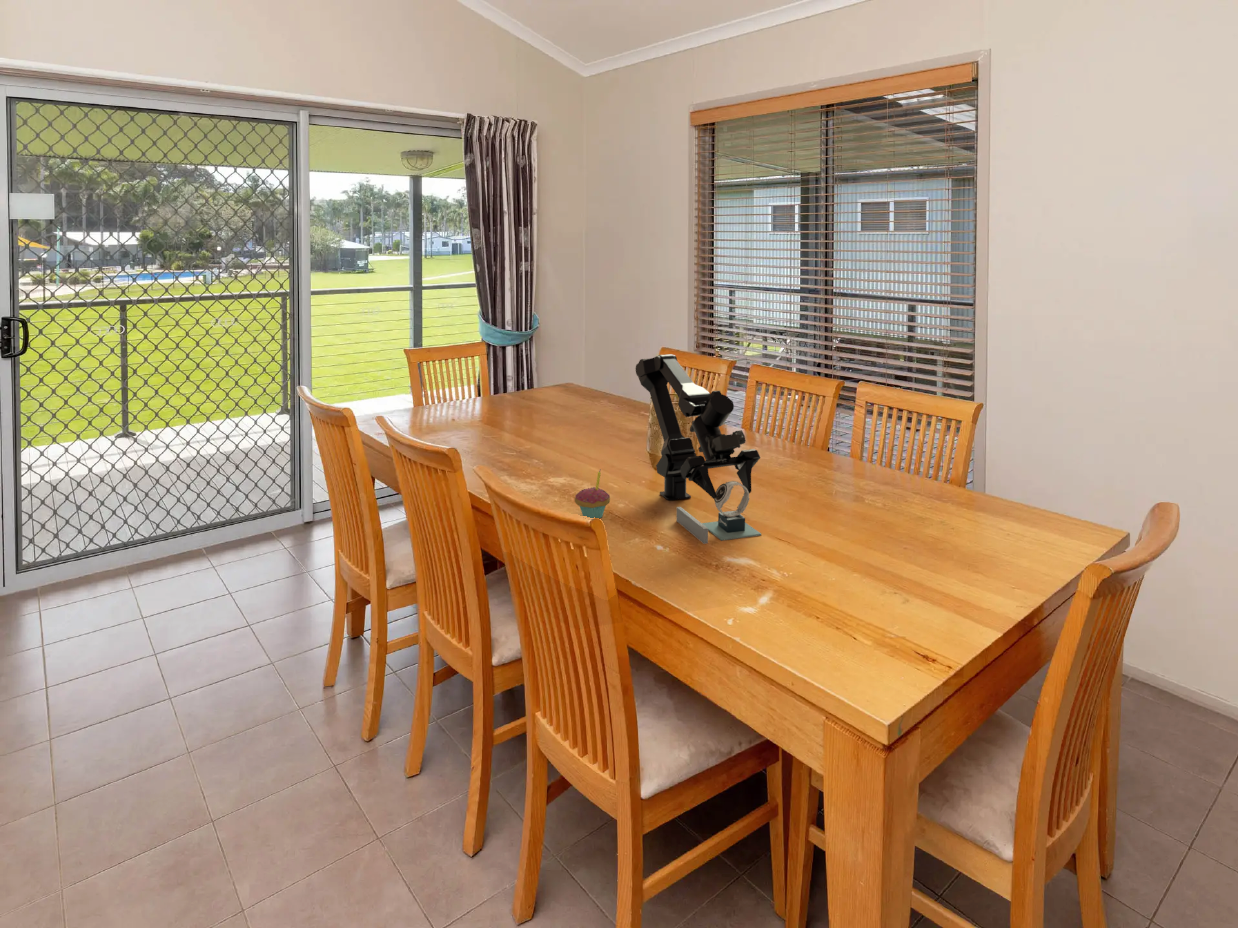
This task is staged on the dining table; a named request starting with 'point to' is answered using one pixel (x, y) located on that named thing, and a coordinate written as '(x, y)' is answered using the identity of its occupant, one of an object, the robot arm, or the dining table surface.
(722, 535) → the mat
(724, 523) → the watch
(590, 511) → the cupcake
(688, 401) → the robot arm
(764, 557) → the dining table surface
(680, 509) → the acrylic wall
